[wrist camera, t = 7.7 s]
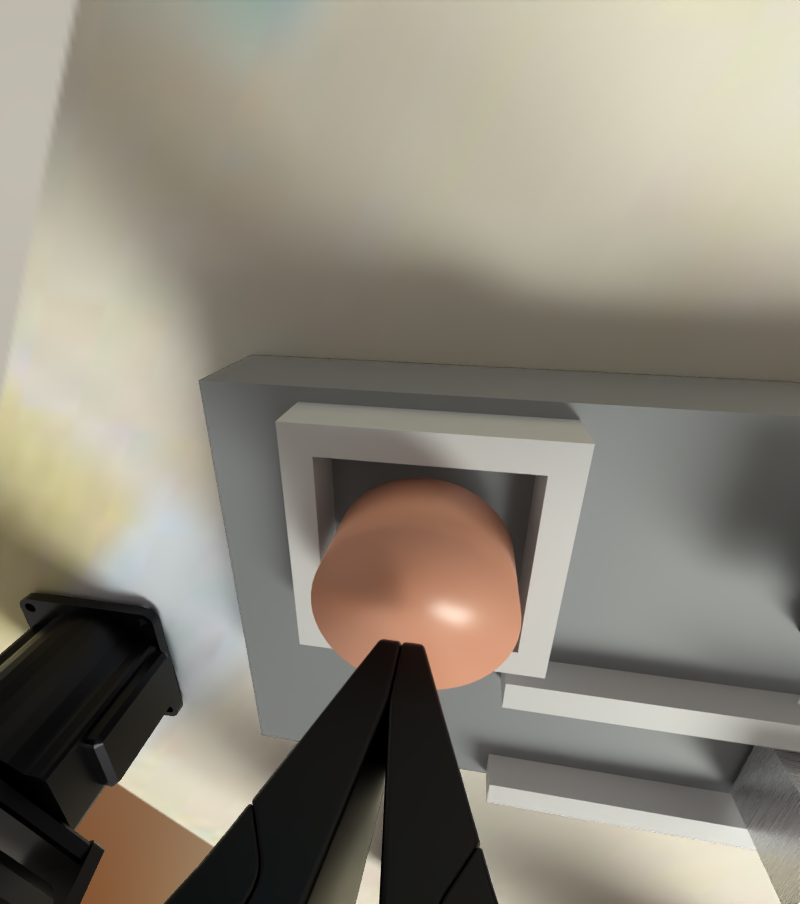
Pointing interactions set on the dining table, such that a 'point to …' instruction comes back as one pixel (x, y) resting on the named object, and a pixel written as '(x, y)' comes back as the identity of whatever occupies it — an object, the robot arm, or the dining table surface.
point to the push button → (421, 579)
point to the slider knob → (773, 814)
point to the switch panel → (546, 566)
